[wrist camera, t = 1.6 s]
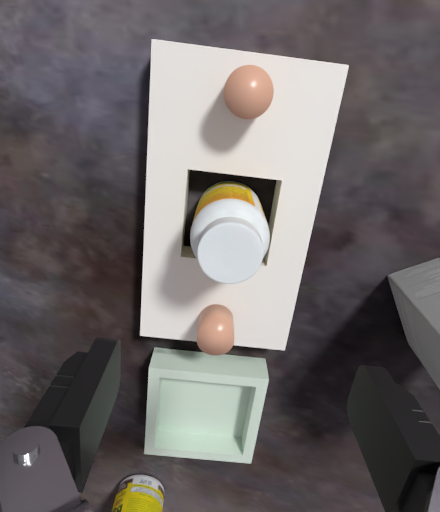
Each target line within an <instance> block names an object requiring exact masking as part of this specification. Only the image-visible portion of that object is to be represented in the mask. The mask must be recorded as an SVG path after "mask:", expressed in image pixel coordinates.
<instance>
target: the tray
mask: <svg viewBox="0 0 440 512" xmlns="http://www.w3.org/2000/svg"><path fill="white" fill-rule="evenodd" d="M268 381H269V377H268V371H267V365H266V359H265V358H255V357H245V356H235V355H225V354H222V355H216V356H215V355H209V354H206V353H204V352H196V351H186V350H176V349H166V348H156V347H154V351H153V354H152V358H151V362H150V365H149V373H148V392H147V411H146V430H145V449H144V454H150V455H161V456H172V457H184V458H195V459H206V460H217V461H228V462H239V463H251V461H252V457H253V452H254V447H255V442H256V438H257V433H258V428H259V424H260V419H261V414H262V410H263V405H264V400H265V395H266V391H267V386H268Z"/></svg>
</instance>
